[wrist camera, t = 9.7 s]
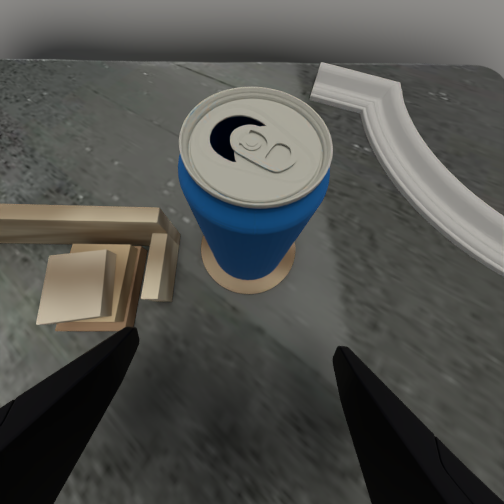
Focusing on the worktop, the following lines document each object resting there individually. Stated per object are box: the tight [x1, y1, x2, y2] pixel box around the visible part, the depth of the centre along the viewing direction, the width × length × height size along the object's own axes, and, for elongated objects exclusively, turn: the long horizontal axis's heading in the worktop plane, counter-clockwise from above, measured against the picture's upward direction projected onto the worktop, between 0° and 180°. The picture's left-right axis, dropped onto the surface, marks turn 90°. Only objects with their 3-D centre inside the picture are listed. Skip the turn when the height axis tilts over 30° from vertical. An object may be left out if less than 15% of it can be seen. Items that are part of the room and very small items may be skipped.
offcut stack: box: [36, 244, 147, 331], centre depth 15 cm, size 7×5×4 cm
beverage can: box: [178, 87, 333, 280], centre depth 13 cm, size 6×6×12 cm
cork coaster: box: [201, 235, 295, 294], centre depth 19 cm, size 9×9×1 cm
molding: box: [309, 62, 504, 277], centre depth 22 cm, size 42×12×3 cm, turn 27°
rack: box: [0, 204, 180, 302], centre depth 15 cm, size 6×18×5 cm, turn 90°
